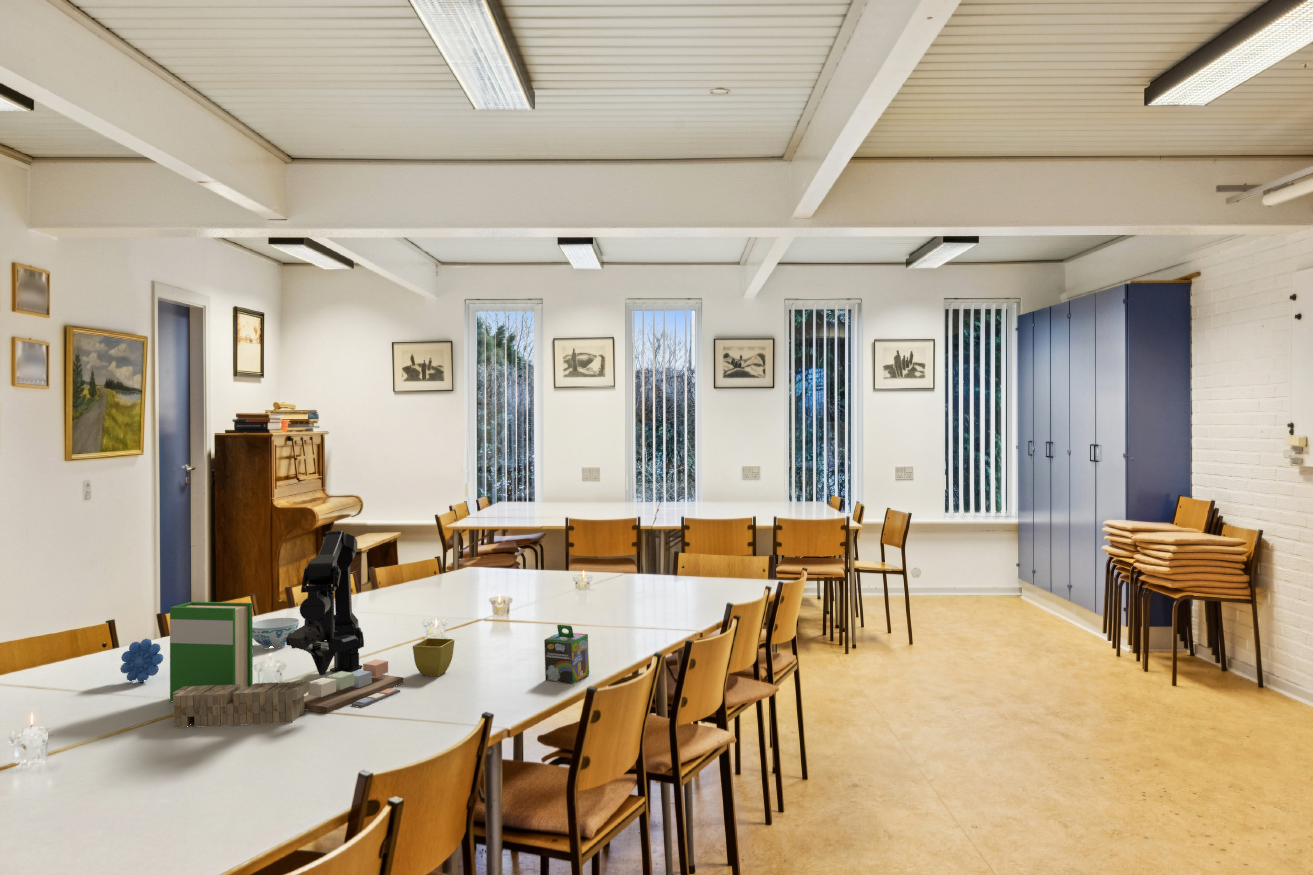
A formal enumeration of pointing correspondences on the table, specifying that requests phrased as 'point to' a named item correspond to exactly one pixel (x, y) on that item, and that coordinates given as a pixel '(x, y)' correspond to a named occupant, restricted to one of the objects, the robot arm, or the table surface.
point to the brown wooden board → (349, 694)
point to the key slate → (362, 678)
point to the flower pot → (433, 656)
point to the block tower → (239, 704)
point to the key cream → (322, 687)
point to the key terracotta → (376, 667)
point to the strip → (375, 697)
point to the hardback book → (210, 644)
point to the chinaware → (273, 631)
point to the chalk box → (566, 656)
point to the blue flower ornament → (141, 660)
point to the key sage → (343, 679)
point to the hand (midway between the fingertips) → (322, 674)
